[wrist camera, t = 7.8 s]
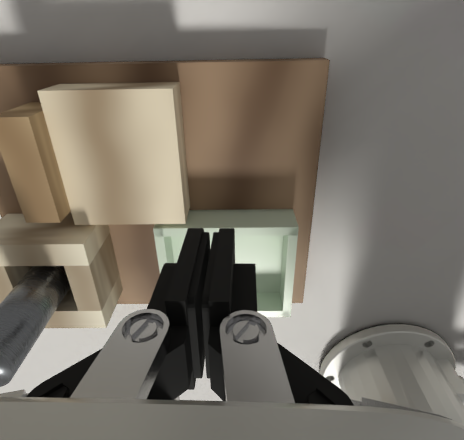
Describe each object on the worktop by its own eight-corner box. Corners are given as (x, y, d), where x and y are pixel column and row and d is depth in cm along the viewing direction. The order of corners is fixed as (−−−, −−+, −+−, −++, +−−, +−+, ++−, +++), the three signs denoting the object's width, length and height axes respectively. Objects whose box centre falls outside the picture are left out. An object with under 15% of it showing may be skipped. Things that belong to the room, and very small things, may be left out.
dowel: (82, 238, 25) (0, 350, 16) (91, 268, 26) (19, 387, 18) (45, 238, 25) (-57, 350, 16) (55, 269, 26) (-34, 387, 18)
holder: (105, 212, 24) (83, 244, 20) (122, 289, 27) (106, 327, 24) (7, 213, 24) (-32, 245, 21) (36, 290, 28) (7, 328, 24)
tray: (292, 208, 24) (298, 227, 21) (286, 294, 27) (290, 316, 25) (160, 210, 24) (153, 228, 22) (172, 294, 28) (166, 317, 25)
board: (323, 58, 20) (350, 67, 16) (299, 290, 29) (312, 342, 24) (-40, 64, 21) (-123, 75, 16) (44, 292, 30) (7, 343, 25)
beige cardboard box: (179, 81, 20) (172, 88, 18) (190, 205, 24) (185, 223, 21) (59, 83, 20) (37, 90, 18) (89, 206, 24) (74, 224, 22)
